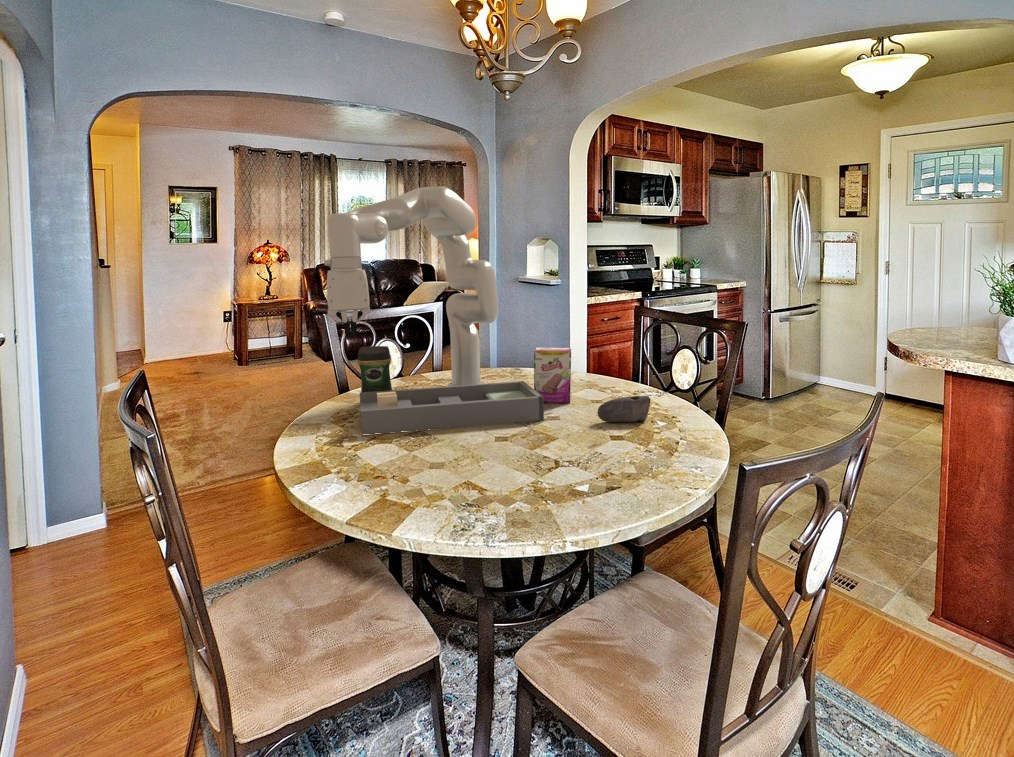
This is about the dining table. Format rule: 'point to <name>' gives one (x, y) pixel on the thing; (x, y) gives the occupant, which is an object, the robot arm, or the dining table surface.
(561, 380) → the candy bar box
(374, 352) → the coffee jar
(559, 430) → the dining table surface
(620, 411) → the perforated stone tool
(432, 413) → the box
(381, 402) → the maple block
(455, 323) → the robot arm
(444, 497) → the dining table surface
